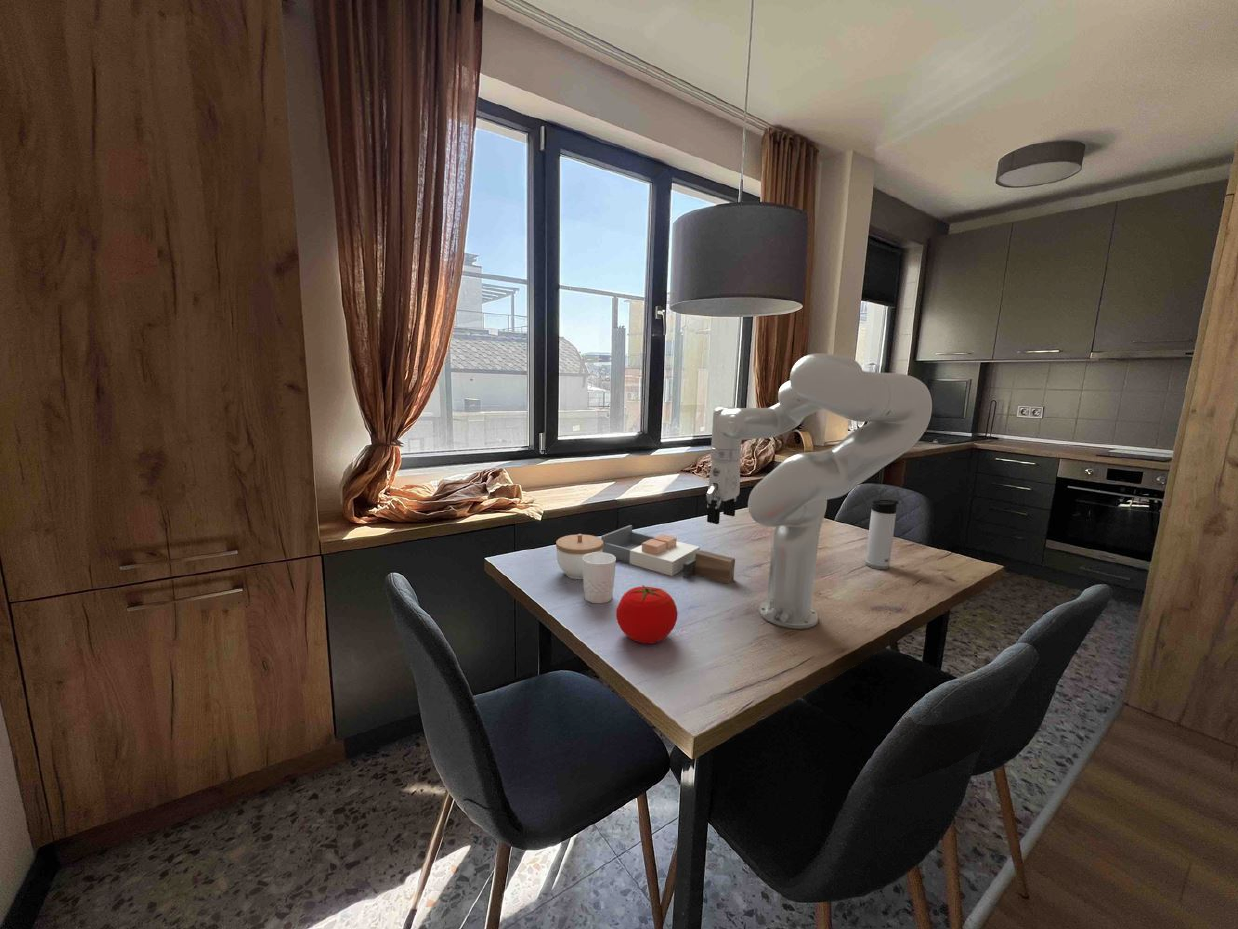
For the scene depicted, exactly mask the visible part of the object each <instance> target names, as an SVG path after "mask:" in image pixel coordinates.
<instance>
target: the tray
mask: <svg viewBox="0 0 1238 929" xmlns="http://www.w3.org/2000/svg"><path fill="white" fill-rule="evenodd" d="M655 537H656V536H652V535H648V534H645V533H639V532H635V531H633V525H632V524H629V525H626V526H624V527H621V528H619V529H616V530H614V531H611V532H608V533H606V534H603V535H601V537H600V539H602V541H603V553H609V554H612V555H614V556H615V557H616V561H620V562H623V563H627V564H629V565H631V564H630V550H632V549H634V548H636V547H638V546H641V545H642V543H643V542H646V541H648V540H650V539H653V538H655Z"/></svg>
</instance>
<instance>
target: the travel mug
mask: <svg viewBox="0 0 1238 929" xmlns="http://www.w3.org/2000/svg"><path fill="white" fill-rule="evenodd" d="M898 505H900V503H899V501H898V500H896V499H894V500H892V499H876V500H873V502H872V507H871V509H870V510H871V513H870V520H869V530H868V536H867V537H868V538H867V546H866V555H865V561H864V562H865V565H866V567H868V566H870V567H869V568H871V567H872V568H871V569H874V568H876V569H875V570H879V569H886V570H888V569H887V568H890V563H891V556H892V547H893V543H894V542H893V539H894V533H895V532H894V531H895V523H896V516H897V507H898Z"/></svg>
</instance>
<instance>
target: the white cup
mask: <svg viewBox="0 0 1238 929" xmlns="http://www.w3.org/2000/svg"><path fill="white" fill-rule="evenodd" d="M616 562H617V560H616V557H615V556H614V555H612V554H609V553H603V552H594V553H589V554H586V555H584V556H583V579H582V580H583V591H584V599H585V600H586V602H589V603H592V604H605V603H608V602H610V601H612V599H613V592H614V587H615V586H614V584H615V577H616V576H615V574H616Z"/></svg>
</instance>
